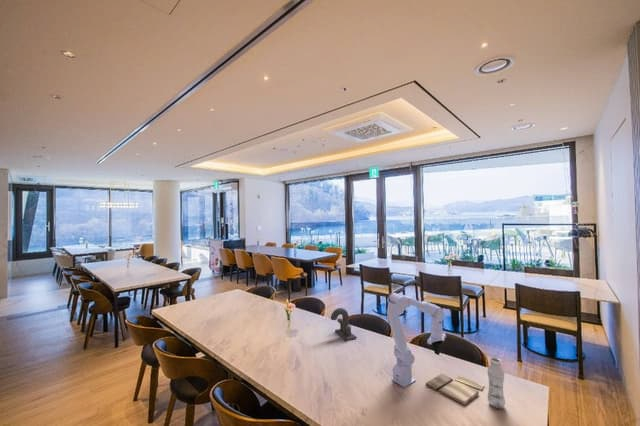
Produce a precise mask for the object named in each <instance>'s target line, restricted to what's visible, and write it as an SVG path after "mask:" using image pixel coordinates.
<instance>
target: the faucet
mask: <svg viewBox="0 0 640 426" xmlns="http://www.w3.org/2000/svg"><path fill="white" fill-rule="evenodd" d="M340 315H341V316H342V318H340V317H339V316H340ZM349 318H350V317H349V313H348V311H347V310H346V309H345V308H343V307H337V308H336V309H335V310H333V311H332V313H331V315H330V320H331V321H336V320H337V322H338V323H339V324H340V325H339V327H340V328H339V329H334V332H335V333H336V334H337V335H338V334H339V337H341V338H342V337H343V338H344V339H343V338H342V339H343V340H345V342H349V341H348V340H350V341H353V340H352V339H354V340H357V339H358V337H357V336H356V335H355V334H354V333H352V326H351V325H350V322H349ZM356 338H357V339H356Z"/></svg>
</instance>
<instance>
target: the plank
mask: <svg viewBox="0 0 640 426" xmlns="http://www.w3.org/2000/svg"><path fill="white" fill-rule="evenodd" d="M454 380H455V381H457V382H459V383H462V384H464V385H466V386H468V387H471V388H473V389H475V390H477V391H481V392H483V390H484V389H485V387H486V386H485V384H483V383H480V382H477V381H475V380H472V379H469V378H466V377H464V376H461V375H457V377H456V378H455V379H454Z"/></svg>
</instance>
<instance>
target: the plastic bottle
mask: <svg viewBox="0 0 640 426" xmlns="http://www.w3.org/2000/svg"><path fill="white" fill-rule="evenodd" d="M486 372H487V377H488V393H487V402H488V403H489V404H490V406H492V407H493V408H496V409H499V410H500V409H503V408H504V407H505V406H506V400H505V395H504V394H505V393H504V381H505V371H504V370H503V369H502V368H501V360H500V359H498V358H494V357H491V358H490V365H489V366H488V367H487V371H486Z"/></svg>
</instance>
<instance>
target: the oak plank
mask: <svg viewBox="0 0 640 426" xmlns="http://www.w3.org/2000/svg"><path fill="white" fill-rule="evenodd" d="M438 392H439V393H440V394H442V395H444V396H447V397H448V398H451V399H452V400H455V401H457V402H458V403H460V404H462V405H464V406H465V405H466V404H467V403H468V402H470V401H472V400H473V399H474V398H476V397H477V396H478V395H479V394H480V390H478V389H475V388H473V387H470V386H467V385H465V384H462V383H459V382H457V381H455V379H453V381H451V382H450V383H448V384H447V385H445V386H443V387H442V388H440V389H439V390H438Z"/></svg>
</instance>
